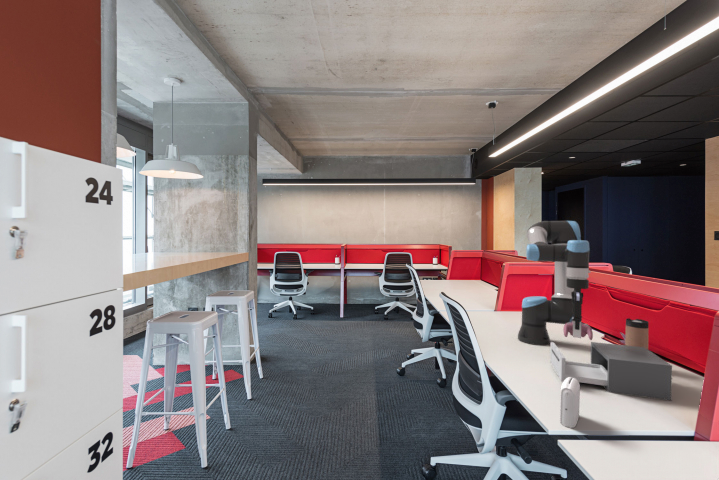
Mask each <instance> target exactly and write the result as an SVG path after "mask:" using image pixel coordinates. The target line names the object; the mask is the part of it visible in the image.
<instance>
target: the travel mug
mask: <svg viewBox="0 0 719 480" xmlns="http://www.w3.org/2000/svg"><path fill="white" fill-rule="evenodd" d="M649 324H650V323H649V321H648V320H645V319H640V318H639V319H638V318H636V319H631V318H630V317H629V318H626V319H625V334H624V335H625V340H624V341H625V344H624V345H627V346H637V347H645V348H646V349H648V350H649V328H650V327H649V326H650V325H649Z"/></svg>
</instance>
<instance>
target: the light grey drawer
mask: <svg viewBox="0 0 719 480" xmlns="http://www.w3.org/2000/svg"><path fill="white" fill-rule="evenodd" d="M549 347H550V352H549V353H550V355H549V358H550V359H549V363H550V364H551V366H552V368H553V370H554V371H555V373H556V376H557V377H558V378H559V380H560V381H561V382H562V383H563V382H564V380H565V379H566V378H568V377H571V378H575V379H577V380H578V382H579V383H580V384H581V383H584V384H589V385H597V386H603V385H604V386H607V375H608V371H607V370H606V369H605V368H604V367H603V366H602V365H598V364H591V362H589V363H588V362H582V361H581V362H580V361H571V360H566V359H567V358H566V357H565V356H564V354H563V353H562V351H561V350H560V349H559V347H558V346H557V345H556V343H555V342H553V341H550V346H549ZM604 386H603V387H604Z"/></svg>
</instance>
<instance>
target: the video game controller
mask: <svg viewBox="0 0 719 480" xmlns="http://www.w3.org/2000/svg"><path fill="white" fill-rule="evenodd" d="M562 331H563V335H564V337H565V338H567V337H568V334H569V335H570V336H571V337H573V322H568V323H566V324H563V330H562ZM586 336H587V337H588V339H589V340H590V341H592V340H593V337H594V336H593V329H592V327H591V325H589V324H588V323H584V322H581V338H585V337H586Z"/></svg>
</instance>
